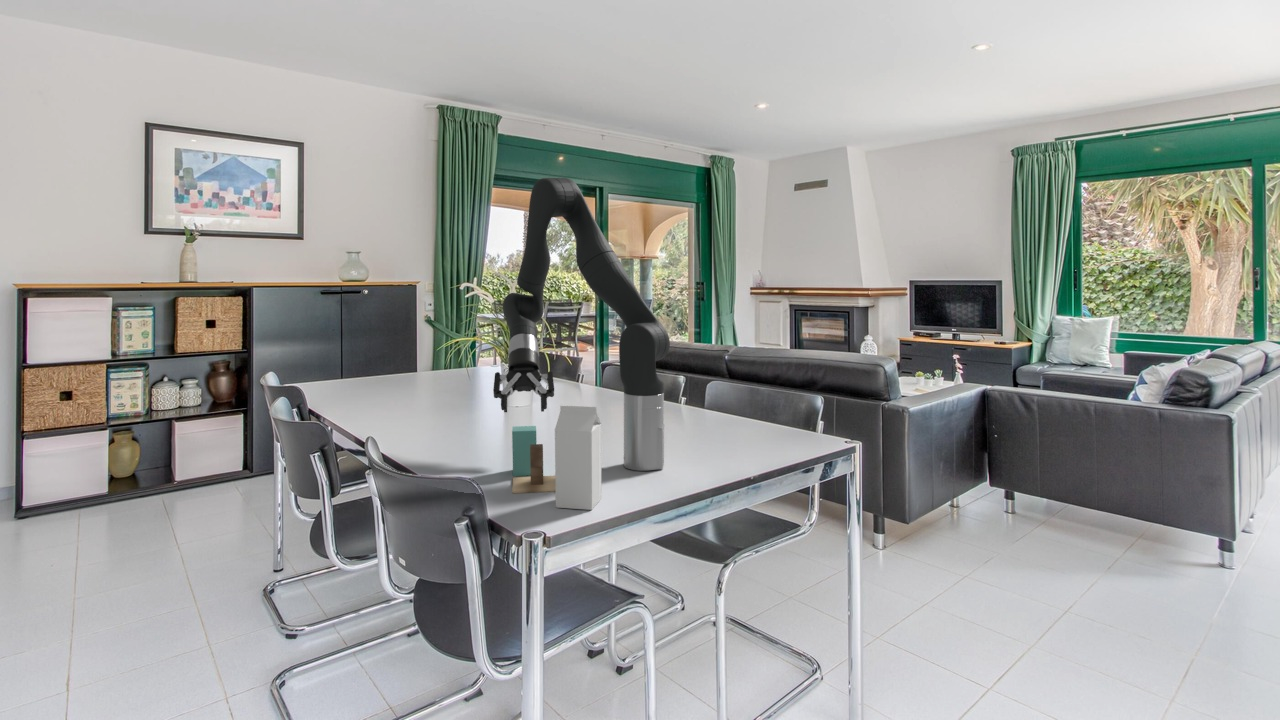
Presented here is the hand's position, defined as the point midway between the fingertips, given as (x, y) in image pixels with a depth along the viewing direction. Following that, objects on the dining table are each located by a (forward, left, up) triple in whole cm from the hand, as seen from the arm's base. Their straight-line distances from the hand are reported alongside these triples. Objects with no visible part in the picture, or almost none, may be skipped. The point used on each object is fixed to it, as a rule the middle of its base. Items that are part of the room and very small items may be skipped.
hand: (524, 410), depth 156 cm
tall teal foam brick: (-2, +8, -13) cm, 15 cm away
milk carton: (-18, +28, -13) cm, 35 cm away
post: (-7, +17, -13) cm, 22 cm away
